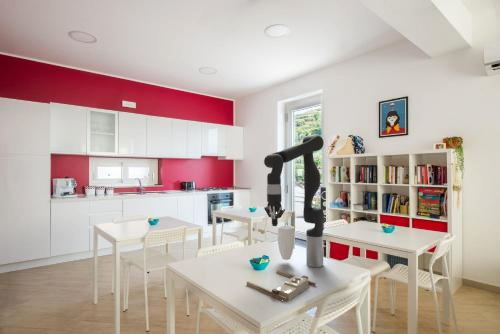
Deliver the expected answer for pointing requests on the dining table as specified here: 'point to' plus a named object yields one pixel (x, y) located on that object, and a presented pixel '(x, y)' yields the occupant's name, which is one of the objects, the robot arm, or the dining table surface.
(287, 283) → the electrical outlet
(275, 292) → the brown flat piece
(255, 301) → the dining table surface
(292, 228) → the cup
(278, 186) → the robot arm
